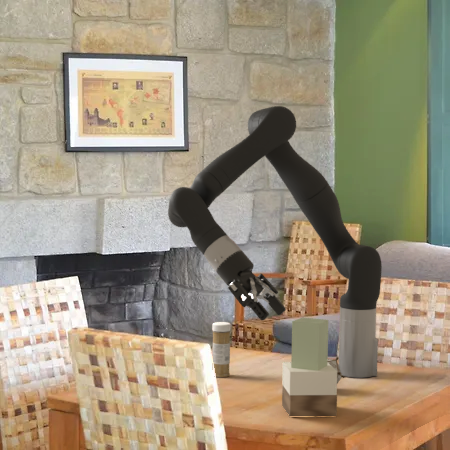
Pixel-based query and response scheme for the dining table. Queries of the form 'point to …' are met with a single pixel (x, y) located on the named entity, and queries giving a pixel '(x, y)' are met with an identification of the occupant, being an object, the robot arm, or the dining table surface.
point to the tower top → (309, 380)
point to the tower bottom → (309, 404)
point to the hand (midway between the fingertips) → (274, 315)
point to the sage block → (309, 344)
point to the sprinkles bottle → (221, 348)
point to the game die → (336, 368)
